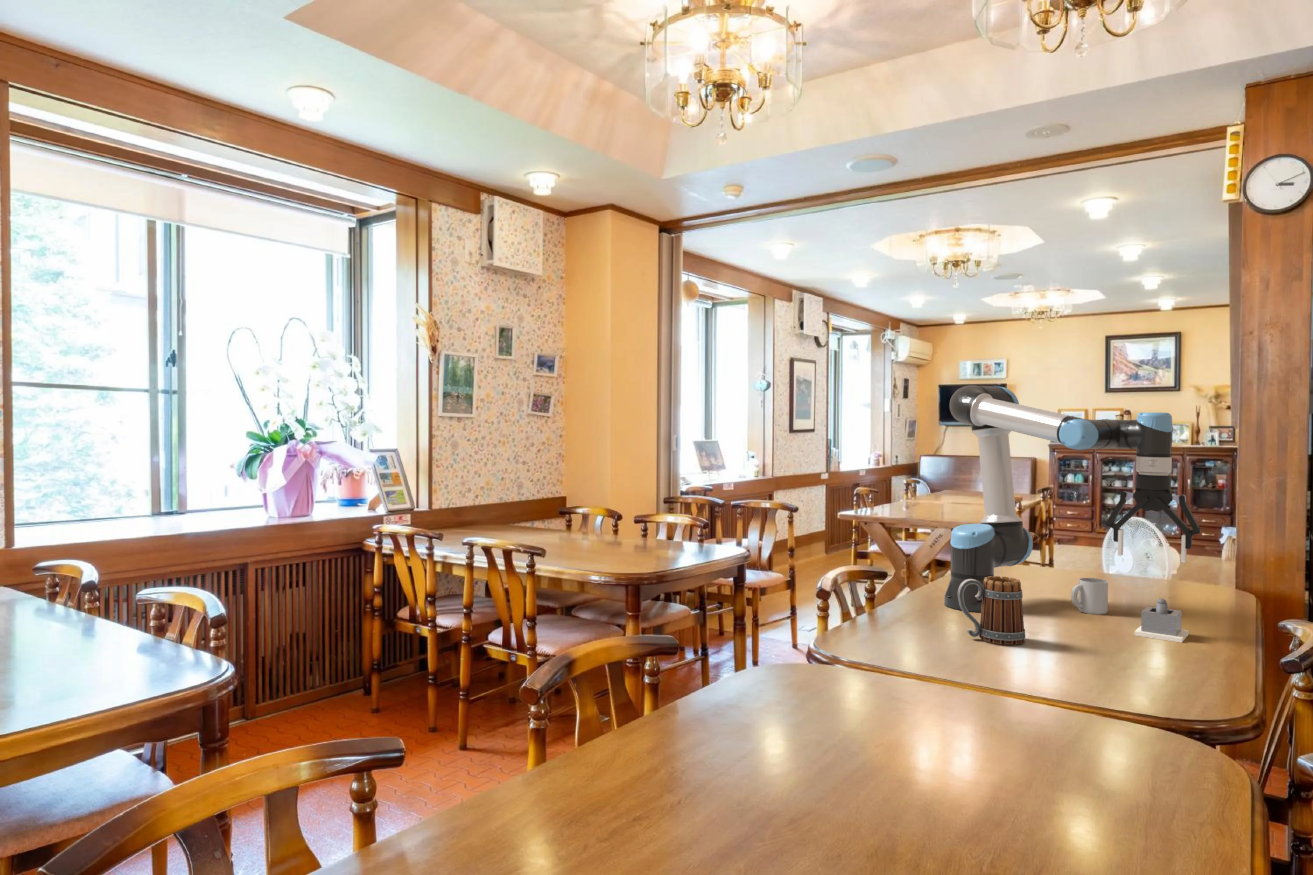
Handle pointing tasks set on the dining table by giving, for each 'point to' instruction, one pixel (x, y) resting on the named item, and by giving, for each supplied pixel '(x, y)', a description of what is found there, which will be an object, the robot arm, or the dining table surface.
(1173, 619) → the grey square storage bin
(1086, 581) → the cup
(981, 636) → the mug
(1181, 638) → the peg stand
